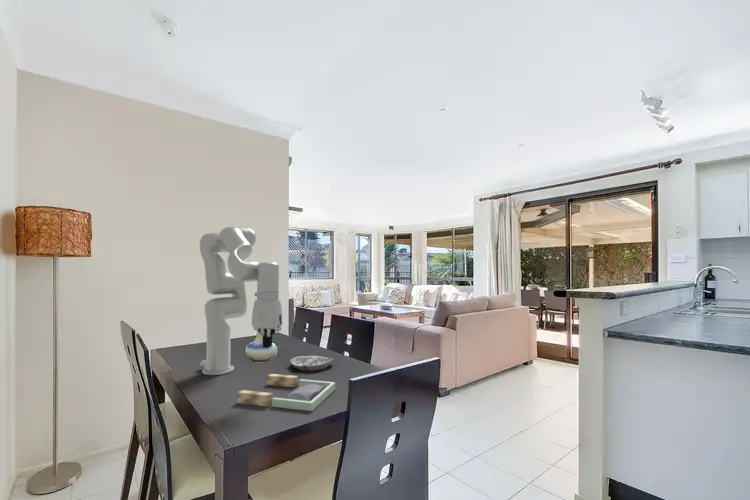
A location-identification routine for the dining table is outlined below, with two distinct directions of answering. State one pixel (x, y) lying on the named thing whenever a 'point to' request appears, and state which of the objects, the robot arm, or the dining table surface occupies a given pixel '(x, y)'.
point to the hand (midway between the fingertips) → (267, 346)
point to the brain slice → (311, 362)
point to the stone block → (305, 392)
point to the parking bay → (306, 405)
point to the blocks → (264, 397)
